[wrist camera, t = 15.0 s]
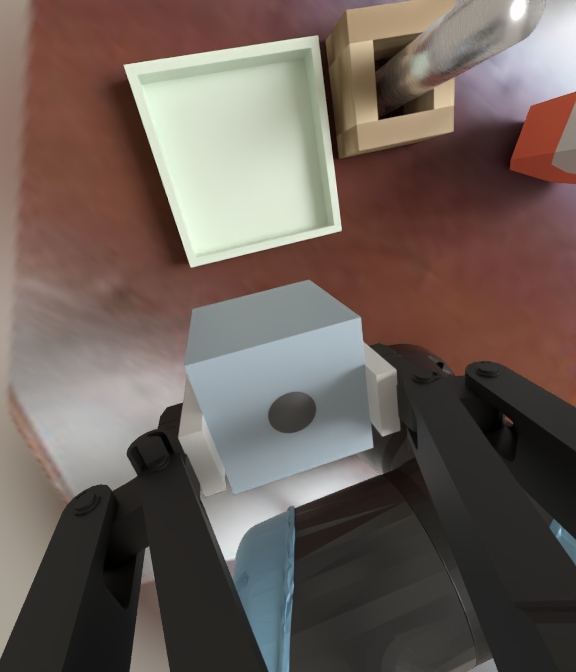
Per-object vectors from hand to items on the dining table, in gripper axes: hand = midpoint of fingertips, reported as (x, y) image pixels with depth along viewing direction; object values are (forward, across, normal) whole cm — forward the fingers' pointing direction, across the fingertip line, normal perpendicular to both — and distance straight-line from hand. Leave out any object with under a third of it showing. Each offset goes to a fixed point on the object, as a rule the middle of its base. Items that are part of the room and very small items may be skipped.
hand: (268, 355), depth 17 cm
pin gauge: (+14, -15, -13) cm, 24 cm away
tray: (+14, -3, -10) cm, 18 cm away
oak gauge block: (+14, -15, -13) cm, 24 cm away
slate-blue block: (0, 0, 0) cm, 1 cm away
